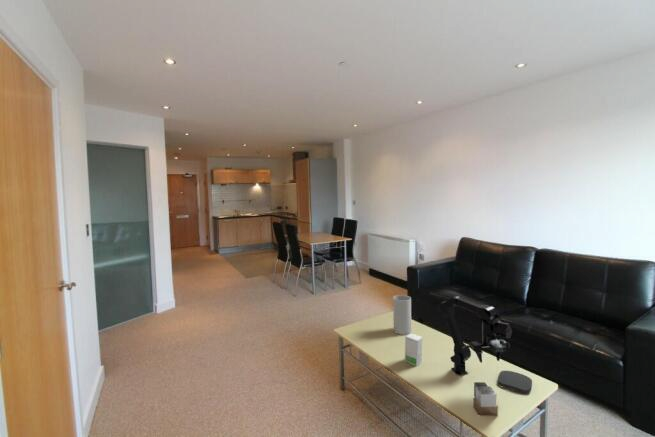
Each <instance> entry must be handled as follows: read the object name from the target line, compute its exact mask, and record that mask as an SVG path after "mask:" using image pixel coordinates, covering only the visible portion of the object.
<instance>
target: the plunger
mask: <svg viewBox="0 0 655 437" xmlns="http://www.w3.org/2000/svg"><path fill="white" fill-rule="evenodd" d="M476 386H488V385H487V383H486V382H483V381H482V382H481V381H480V382H479V381H478V382H477V381H476V382H473V396H474V397H473V398H476Z"/></svg>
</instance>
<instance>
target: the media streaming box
mask: <svg viewBox="0 0 655 437" xmlns="http://www.w3.org/2000/svg"><path fill="white" fill-rule="evenodd" d="M497 384H498V386H499V387H502V388H504V389H507V390H510V391H513V392H516V393H520V394H524V395H526V394H527V395H528V394H530V393H531V391H532V387H533V380H532V379H531V377H529V376H527V375H525V374H523V373H519V372H515V371H511V370H501V371H500V372H499V374H498V377H497Z"/></svg>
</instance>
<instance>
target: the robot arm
mask: <svg viewBox="0 0 655 437" xmlns="http://www.w3.org/2000/svg"><path fill="white" fill-rule="evenodd" d="M456 306H458V307H461V308H462V309H465V310H468V311H469V312H470V311H471V312H473V313H475V314H476V315H477V316H478V317H479V319H477V321H478V322H480V323H482V324H481V329H482V331H480V335H482V339H480V341H481V343H480V342H478V341H476V340H475V341H470V342H469V343H468V344H466V343H465V342H464V340H463V338H462V335H461V332H460V329H459V325H458V324H457V320H456V318H455V317H456V316H455V310H456V309H455V307H456ZM437 308H438V310H439V313H440V315H441V316H442V317H443V318H444V319H445V321H446V324H447V327H448V330H449V334H450V336H451V339H452V341H453V353H454V354H453V355H452V356H450V361H451V362H452V363H453V367H451V370H452V371H453V372H454V373H455V374H456V375H457V376H460V375H468V374H469V372H468V371H467V370H466V361H468V360H469V359H470V358H471V357H472V351H473V352H474V353H475V354H476V356H477V358H478V361H479V363H483V355H482V354H483V348H489V349H490V350H491V351H492V353H495V358H496V361H497V362H499V361H500V359H501V357H502V355H503V352H504V351H505V352H506V351H508V349H510V346H511V345H510V343H509V342H507V340H504V339H503V338H506V339H510V338H511V337H512V334H513V329H512V327H511V326H510V323H508V322H502V319H501V317H500V315H499V314H498V312H497V311H496V308H495V307H494V306H492V305H487V304H479V303H477V302H473V301H471V300H468V299H465V298H463V297H461V296H459V295H455V296H452V297H451V298H450V299H448V300H445V301H442V302H440V303H438V305H437ZM498 336H499V337H503V338H498ZM471 350H472V351H471Z"/></svg>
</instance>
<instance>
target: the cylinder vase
mask: <svg viewBox="0 0 655 437" xmlns="http://www.w3.org/2000/svg"><path fill="white" fill-rule="evenodd" d="M392 298H393V299H392V300H393V301H392V307H393V310H392V311H393V315H392V316H393V332H394V333H395V334H397V335H401V336H403V335H405V336H407V335H408V334H410V333H411V334H412V297H411V296H409V295H405V294H397V295H393V297H392Z"/></svg>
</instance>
